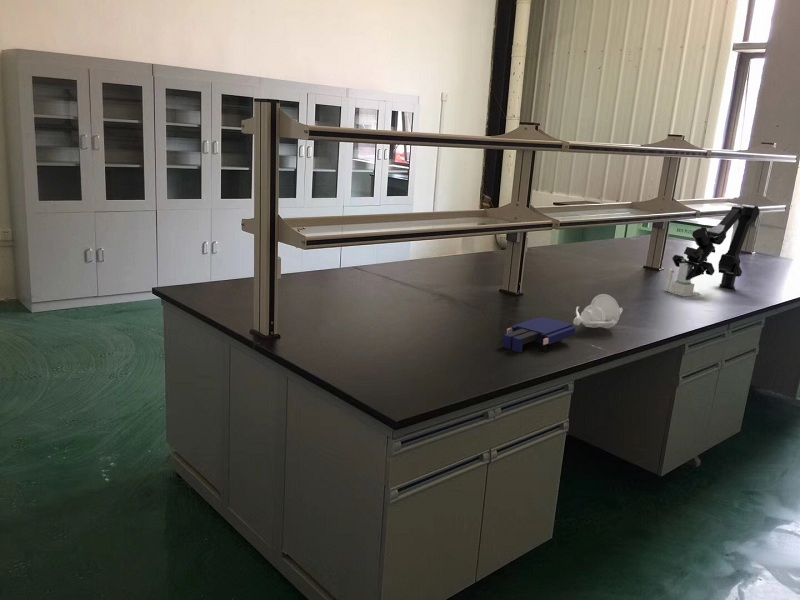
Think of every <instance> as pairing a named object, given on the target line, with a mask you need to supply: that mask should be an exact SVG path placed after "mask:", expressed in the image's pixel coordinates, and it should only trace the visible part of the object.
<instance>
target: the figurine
mask: <svg viewBox="0 0 800 600" xmlns="http://www.w3.org/2000/svg"><path fill="white" fill-rule="evenodd" d="M579 309H580V306H576V308H575V315H576V317H575V318H574V319H573V320H572V323H573V325H575V326H580V325H581V324H582V325H584V326H585V328H586V327H587V328H604V329H611V328H612V327H614V326H615V325H617V323H618V322H619V319H620V316H621V314H622V313H623V310H624V309H623V307H620V306H619V304H618V302H617V300H616V299H615V298H614V297H613V296H611V295H609V294H606V293H600V294H597V295H596V296H595V297H593V298H592V301H591V302H590V304H589V305H587V306H585V308H584V309H583V310H582V312H581V313H579V311H578V310H579Z"/></svg>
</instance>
